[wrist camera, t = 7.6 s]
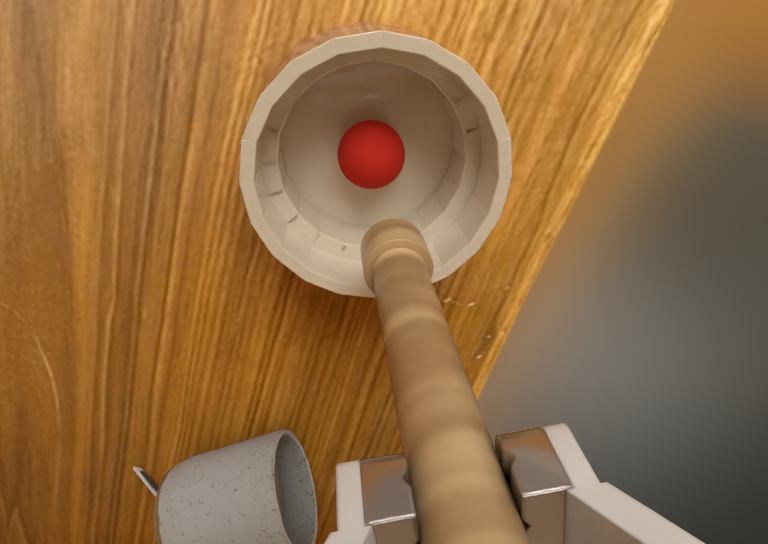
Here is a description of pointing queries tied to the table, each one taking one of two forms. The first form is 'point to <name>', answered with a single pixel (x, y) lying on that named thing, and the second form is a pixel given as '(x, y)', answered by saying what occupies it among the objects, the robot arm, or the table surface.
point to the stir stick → (435, 400)
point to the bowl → (420, 139)
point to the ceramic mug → (240, 495)
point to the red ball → (371, 154)
